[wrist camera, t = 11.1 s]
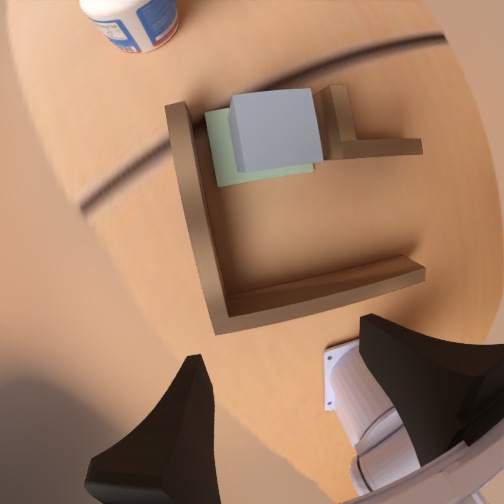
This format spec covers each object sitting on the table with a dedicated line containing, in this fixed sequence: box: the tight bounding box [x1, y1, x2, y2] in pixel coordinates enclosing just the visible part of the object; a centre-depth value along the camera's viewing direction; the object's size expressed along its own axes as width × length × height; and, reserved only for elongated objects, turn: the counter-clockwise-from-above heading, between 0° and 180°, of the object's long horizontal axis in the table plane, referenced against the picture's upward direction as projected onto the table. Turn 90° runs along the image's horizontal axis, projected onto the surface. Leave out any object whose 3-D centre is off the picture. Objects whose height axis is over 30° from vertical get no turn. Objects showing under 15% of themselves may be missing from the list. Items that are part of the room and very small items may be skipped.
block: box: [228, 88, 324, 173], centre depth 15 cm, size 4×4×6 cm
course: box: [165, 85, 425, 336], centre depth 18 cm, size 15×17×4 cm
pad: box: [204, 108, 314, 188], centre depth 18 cm, size 6×7×1 cm
